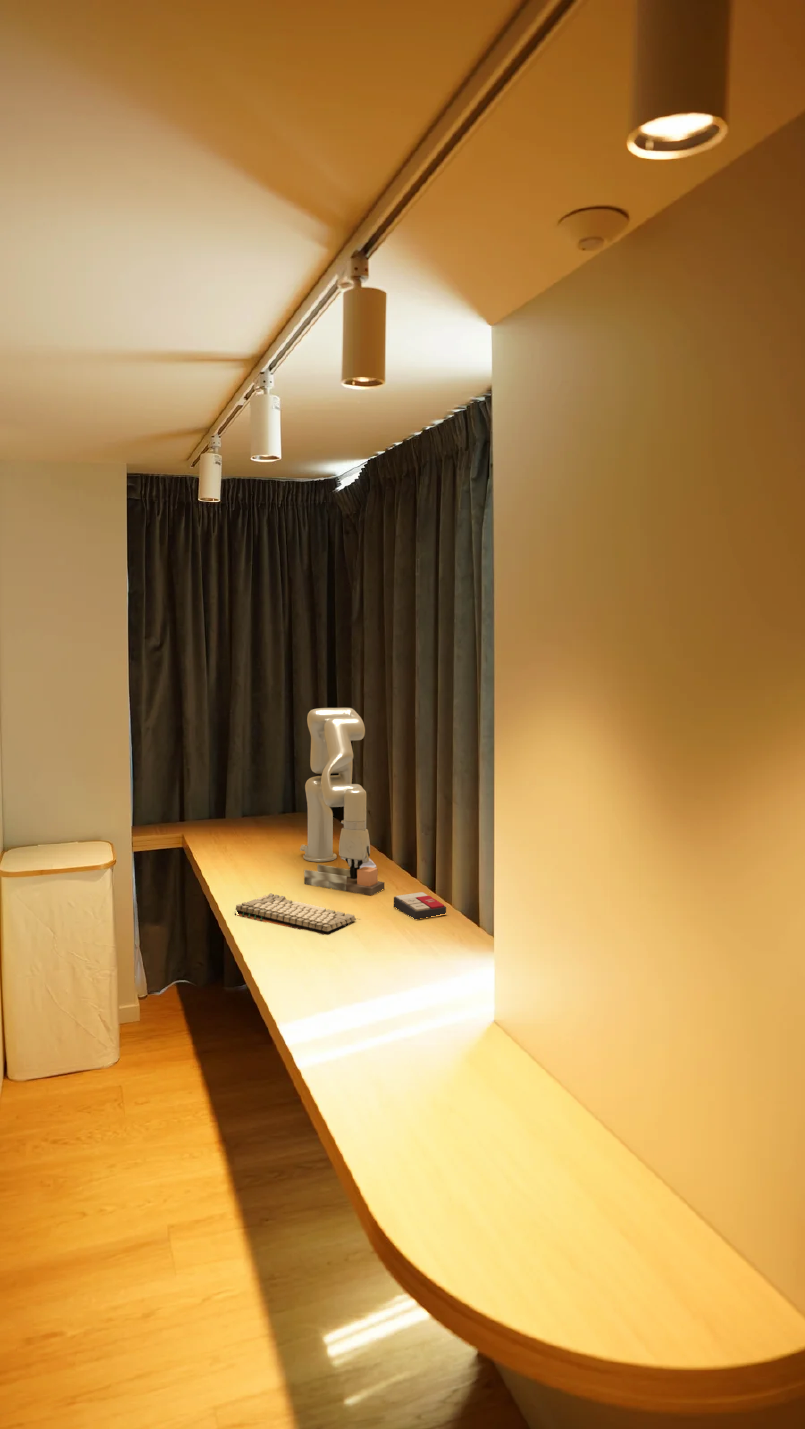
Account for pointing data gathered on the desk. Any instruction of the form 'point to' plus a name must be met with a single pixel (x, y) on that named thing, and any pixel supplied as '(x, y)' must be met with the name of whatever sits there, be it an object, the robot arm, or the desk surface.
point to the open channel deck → (338, 880)
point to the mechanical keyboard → (294, 914)
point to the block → (367, 876)
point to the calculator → (419, 905)
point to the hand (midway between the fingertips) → (354, 877)
